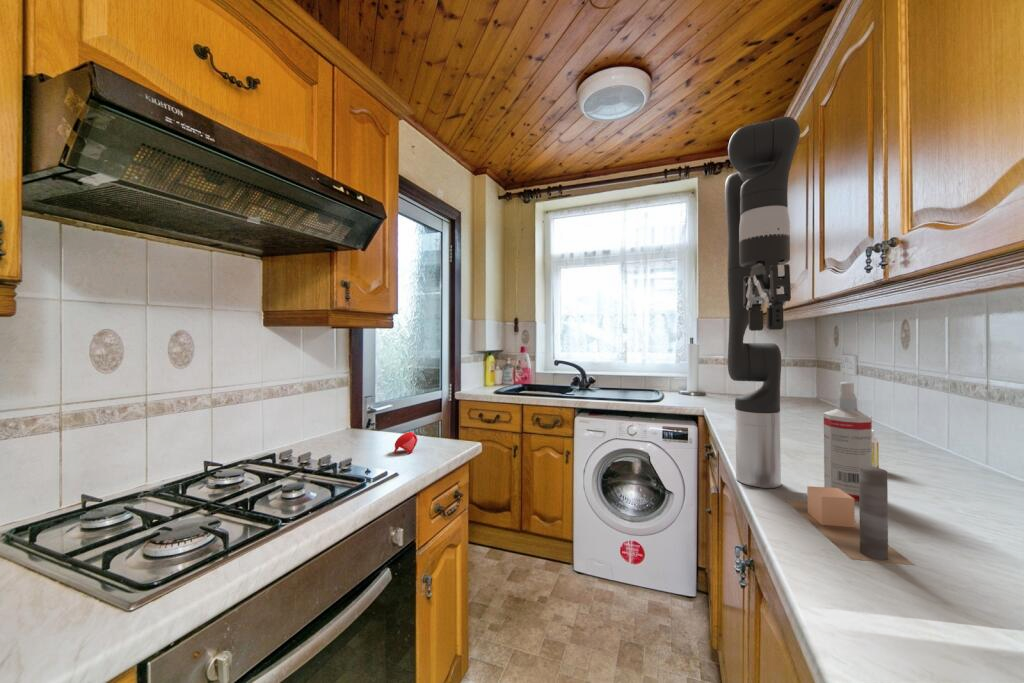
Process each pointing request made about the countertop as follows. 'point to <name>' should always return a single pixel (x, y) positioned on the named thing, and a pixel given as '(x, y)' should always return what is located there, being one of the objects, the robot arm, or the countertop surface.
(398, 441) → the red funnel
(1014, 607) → the countertop surface
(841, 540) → the pull strip
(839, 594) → the countertop surface
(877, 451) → the supplement bottle
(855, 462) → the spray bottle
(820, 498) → the terracotta block
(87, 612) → the countertop surface
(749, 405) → the robot arm
